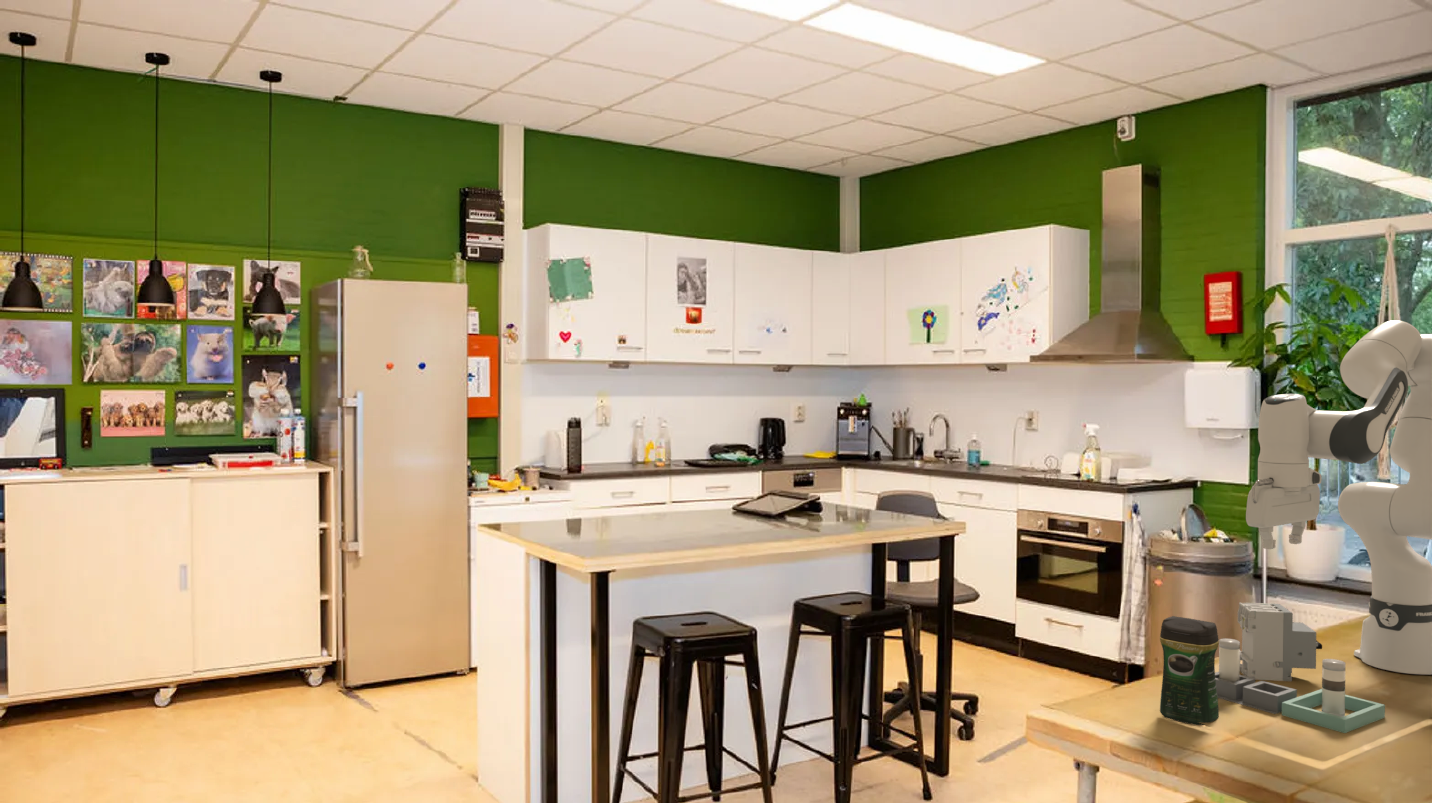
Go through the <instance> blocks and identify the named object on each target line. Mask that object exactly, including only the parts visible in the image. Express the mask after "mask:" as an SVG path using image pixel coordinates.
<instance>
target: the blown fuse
mask: <svg viewBox="0 0 1432 803" xmlns="http://www.w3.org/2000/svg"><path fill="white" fill-rule="evenodd" d="M1321 663H1322V670H1321V671H1322V672H1321V674H1322V675H1321V689H1322V704H1321V712H1325V713H1329V714H1332V715H1336V716H1340V717H1344V716H1346V709H1345V695H1346V662H1345V661H1343V660H1340V659H1335V658H1324V659H1322V662H1321Z"/></svg>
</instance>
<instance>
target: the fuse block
mask: <svg viewBox="0 0 1432 803" xmlns="http://www.w3.org/2000/svg"><path fill="white" fill-rule="evenodd" d="M1215 680H1216V690H1217V698H1218V699H1221V700H1225V701H1229V702H1231V703H1235V704H1238V705H1242V706H1246V707H1248V708H1252V709H1256V710H1260V711H1263V712H1266V713H1270V714H1274V715H1277V714H1280V713H1282V702H1285V701H1288V700H1291V699H1294V698H1296V697H1298V689H1295V688H1292V687H1288V686H1284V685H1280V684H1276V683H1273V682H1268V681H1266V680H1259V681H1257V682H1256V680H1255V679H1254V678H1250V677H1246V676H1245V675H1243V674H1242V675H1241V674H1240V678H1239V681H1237V682H1234V683H1233V682H1230V681H1226V680H1222V679H1219V671H1215Z"/></svg>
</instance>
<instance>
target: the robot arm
mask: <svg viewBox="0 0 1432 803" xmlns="http://www.w3.org/2000/svg"><path fill="white" fill-rule="evenodd" d="M1339 365H1340V367H1339V370H1340V376H1341V379H1342V381H1343V383H1344V385H1345V386H1347V387H1348V389H1349V391H1351V392H1352V393H1354V394H1355V395H1357V396H1360V397H1361V398H1364V399H1367V401H1366V402H1365V404H1364V406H1363V407H1362V408H1360V409H1356V410H1355V409H1354V410H1347V411H1343V410H1342V411H1341V410H1322V409H1321V410H1319V409H1316V408H1315V407H1314V408H1313V407H1312V406H1310V405H1309V404H1307V403H1308V402H1307V399H1306V396H1304V395H1303V394H1298V393H1283V394H1275V395H1271V396H1268V397H1266V398H1264V399H1263V401H1262V403H1261V406H1260V410H1259V416H1258V427H1257V430H1258V431H1257V434H1258V435H1257V440H1258V444H1259V447H1260V450H1259V455H1258V458H1257V480H1256V481H1255V483H1254V484H1253V485H1252V487H1251V489H1250V490H1249V492H1248V495H1247V501H1246V509H1245V510H1246V511H1245V521H1246V524H1247V525H1248V527H1253V528H1258V534H1259V535H1260V537H1261V540H1262V548H1263V549H1265V550H1272V549H1273V550H1274V549H1275V548H1276V540H1277V539H1274V538H1273V532H1274V527H1278V526H1284V525H1291V526H1292V528H1291V532H1290V534H1288V542H1289V544H1292V545H1293V544H1294V545H1300V544H1302V541H1303V534H1304V531H1305V528H1306V522H1307V521H1312V520H1317V518H1318V515H1319V512H1320V499H1321V496H1320V495H1321V490H1320V486H1319V485H1320V484H1322V480H1323V478H1322V474H1321V473H1320V472H1318V471H1316V470H1314V469H1312V468H1311V467H1310V460H1309V458H1311V459H1312V458H1313V459H1314V458H1315V459H1318V460H1319V459H1321V460H1333V461H1341V462H1347V463H1351V464H1352V463H1353V464H1357V465H1360V464H1366V463H1368V462H1369V461H1371V460H1372V459H1374V458H1375V457H1376V456H1377V455H1379V453H1380V452H1381V451H1382V449H1383V446H1384V443H1385V439H1386V436H1387V434H1388V433H1387V432H1388V430H1389V428H1390V427H1391V425H1392V423H1393V421H1394V420H1395V417H1396V416H1397V414H1398V412H1399V411H1400V409H1401V406H1402V405H1403V407H1402V410H1401V412H1400V414H1399V417H1398V421H1397V424H1396V427H1395V430H1394V434H1393V438H1392V441H1391V443H1390V447H1389V455H1390V458H1391V459H1392V461H1393V463H1394V464H1395V465H1396V466H1398V467H1400V469H1402V470H1404V471H1405V472H1407V473H1408V474H1409V479H1408V481H1407V482H1406V483H1404V484H1403V483H1393V482H1382V481H1364V482H1355V483H1350V484H1348V485H1347V486H1345V487H1344V488H1343V490H1342V491H1341V493H1340V495H1339V496H1338V501H1337V508H1338V513H1339V515H1340V518H1341V519H1342V520H1343V522H1344V523H1345V524H1346V525H1348V527H1350V528H1351V529H1352V530H1353V531H1354V532H1355V533H1356V535H1357V536H1358V537H1359V538H1360V540H1361V542H1362V543H1363V546H1364V547H1365V549H1366V551H1367V555H1368V557H1369V561H1370V569H1371V570H1370V571H1371V595H1370V596H1369V601H1368V613H1369V616H1368V617H1366V618H1365V619H1363V621H1362V627H1361V636H1360V646H1359V649H1355V650H1354V651H1353V655H1354V656H1355V657H1357V658H1359V659H1360V660H1361V661H1362V662H1363V663H1364V664H1366V665H1369V666H1370V667H1374V668H1376V669H1377V668H1378V669H1381V670H1384V671H1385V670H1386V671H1390V672H1395V673H1401V674H1410V675H1432V564H1431V562H1430V561H1429V560H1428V559H1427V558H1425V557H1424V556H1423V555H1421V554H1419V553H1417V551H1416V550H1414V548H1413V547H1412V545H1411V544H1410V543H1409V540H1408V537H1409V538H1410V537H1411V538H1418V539H1423V540H1424V539H1425V540H1432V333H1423V334H1422V333H1420V331H1419V330H1418V329H1417V328H1416V327H1415V326H1414V325H1412V324H1411V323H1409V322H1406V321H1403V320H1399V319H1398V320H1397V319H1396V320H1388V321H1385V322H1383V323H1381V324H1379V325H1378V326H1375V327H1374V328H1372V329H1371V330H1370V331H1368V332H1367V333H1366V334H1364V335H1363V336H1362V337H1361V338H1360V339H1359V340H1358V341H1357V342H1356V343H1355V344H1354V345H1352V347H1351V348H1350V349H1349V350H1348V351H1347V352H1346V353H1345V355H1344V357H1343V358H1342V360H1341V362H1340V364H1339ZM1408 387H1409V388H1408ZM1408 389H1410V393H1409V394H1408V396H1407V393H1408ZM1406 396H1407V398H1406ZM1405 398H1406V400H1405ZM1404 401H1405V402H1404ZM1403 402H1404V404H1403Z"/></svg>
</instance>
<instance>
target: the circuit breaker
mask: <svg viewBox="0 0 1432 803" xmlns="http://www.w3.org/2000/svg"><path fill="white" fill-rule="evenodd" d="M1293 619H1294V618H1293V612H1292V611H1290V610H1289V609H1287V607H1285V606H1283V605H1282V604H1280V603H1265V602H1264V603H1262V602H1239V603H1238V610H1237V623H1238V624H1239V626H1240V629H1241V650H1240V661H1241V662H1242V663H1240V673H1241V674H1242V675H1243V676H1246V677H1250V678H1254V679H1255V681H1256V680H1259V681H1276V682H1277V681H1278V682H1292V681H1293V677H1292V674H1293V669H1308V670H1309V669H1311V670H1316V669H1317V650H1323V644H1322V643H1321V642H1319V641H1318V640H1317V631H1315V630H1314V629H1312V628H1311V627H1309V626H1308V625H1307V624H1305V623H1304V622H1298V621H1297V622H1296V621H1294V620H1293ZM1293 621H1294V622H1293Z"/></svg>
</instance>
